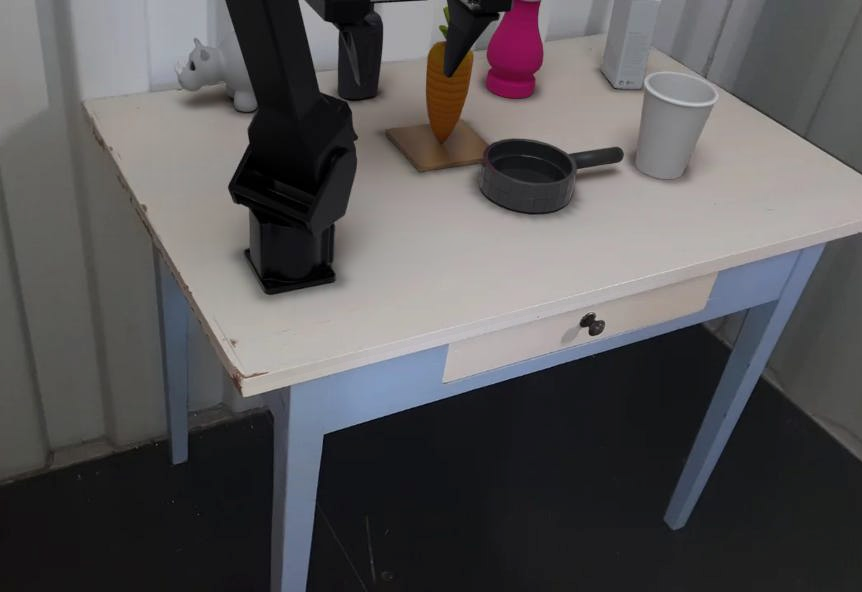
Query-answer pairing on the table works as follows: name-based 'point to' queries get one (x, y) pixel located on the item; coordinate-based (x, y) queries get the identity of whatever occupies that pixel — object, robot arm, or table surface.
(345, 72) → the two-way radio
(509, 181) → the pan
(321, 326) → the table surface
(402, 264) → the table surface
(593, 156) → the pan handle
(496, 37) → the pepper mill
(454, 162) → the wooden board
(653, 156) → the dixie cup
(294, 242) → the robot arm
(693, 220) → the table surface
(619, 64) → the cosmetic box
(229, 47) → the toy rhinoceros
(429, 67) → the carrot
